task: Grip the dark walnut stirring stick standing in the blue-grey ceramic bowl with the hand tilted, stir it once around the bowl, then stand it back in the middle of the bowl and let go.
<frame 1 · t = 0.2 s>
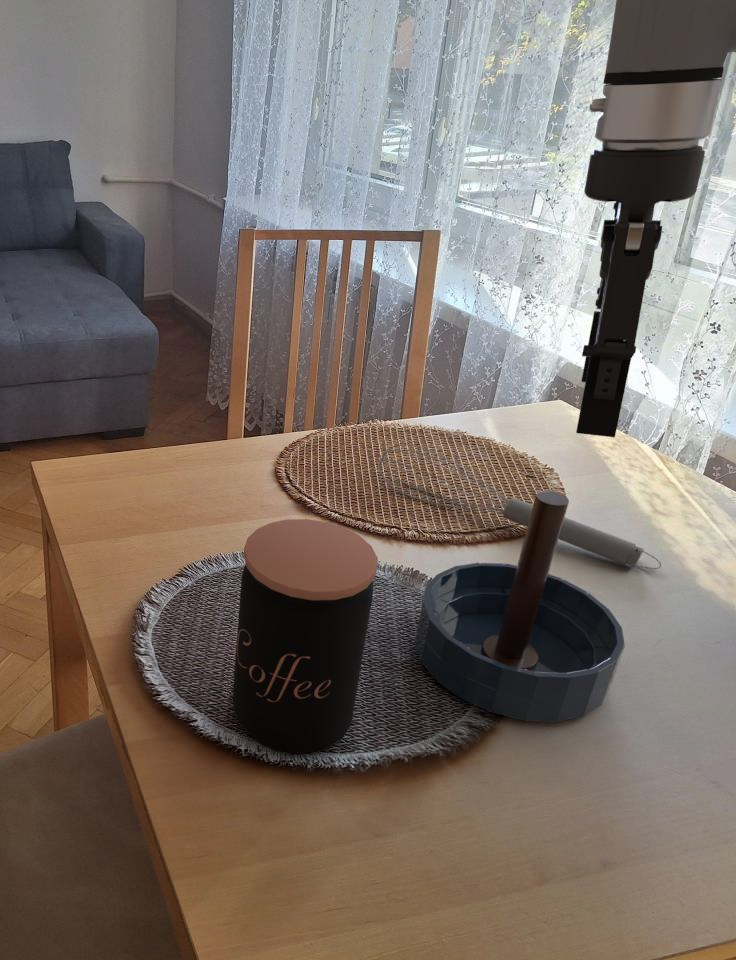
hand: (596, 406, 74), 26 cm above the table, tool pointing down, fingers open, 13 cm apart
stirring stick: (508, 657, 84), point 1 cm above the table, touching bowl
coffee jar: (290, 717, 79), on the table
bowl: (506, 663, 84), on the table
kitchen whisk: (500, 522, 107), on the table
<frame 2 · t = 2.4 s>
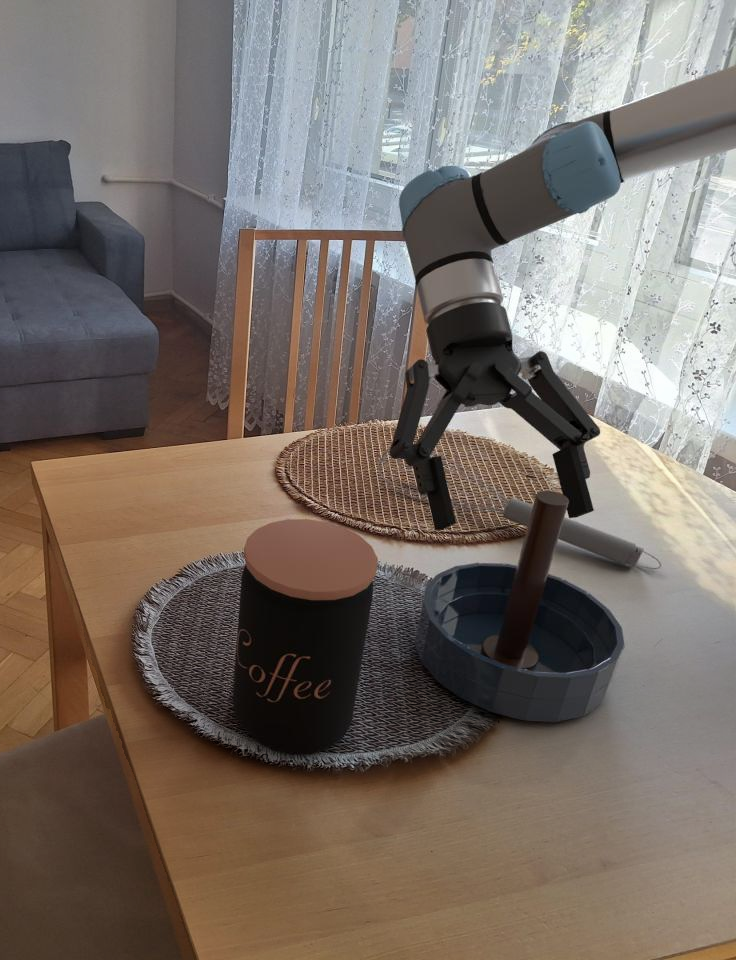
hand: (514, 521, 81), 14 cm above the table, tool tilted 45°, fingers open, 13 cm apart
nothing on the table moved.
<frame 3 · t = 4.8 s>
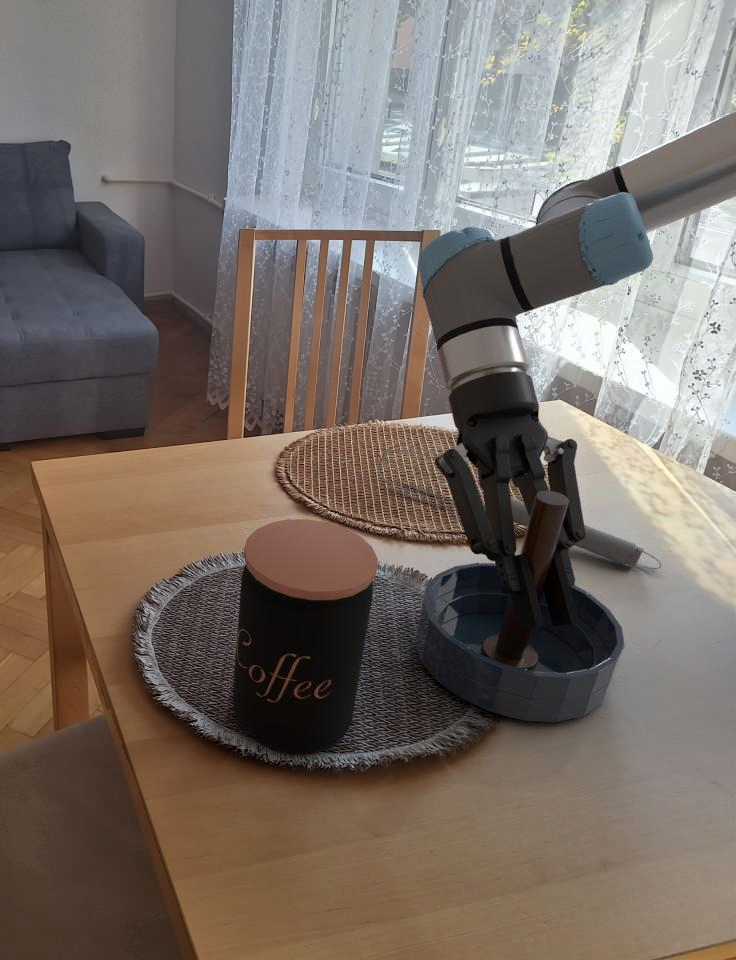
hand: (548, 625, 77), 8 cm above the table, tool tilted 45°, fingers closed on stirring stick, 3 cm apart
stirring stick: (508, 656, 84), point 1 cm above the table, touching bowl, gripper
everything else where it was.
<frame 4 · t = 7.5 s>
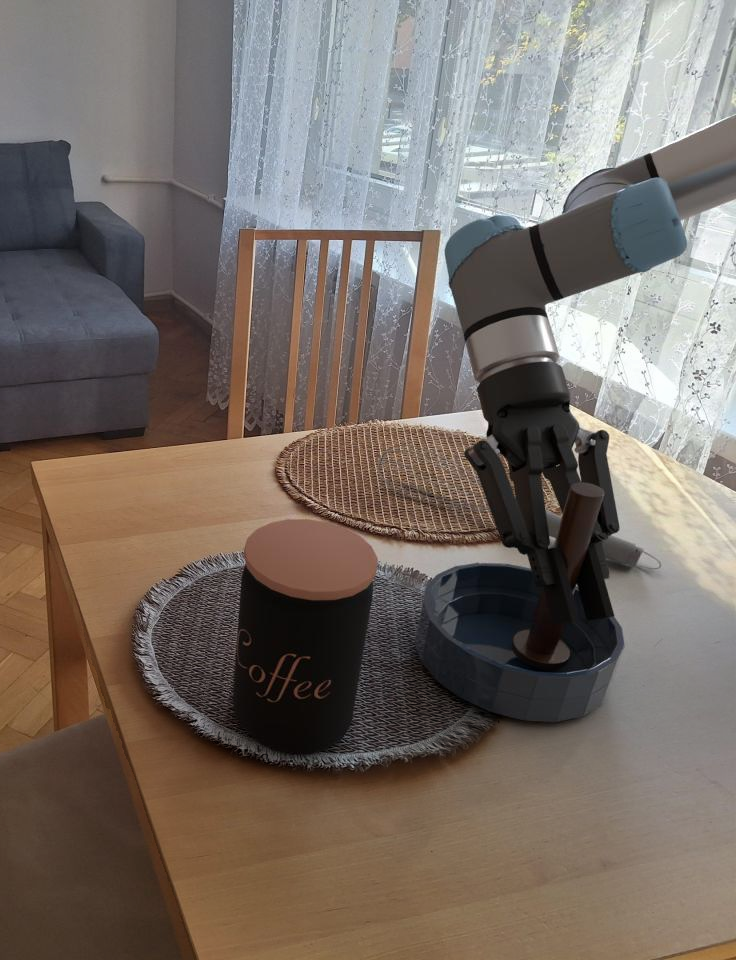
hand: (583, 620, 75), 9 cm above the table, tool tilted 45°, fingers closed on stirring stick, 3 cm apart
stirring stick: (539, 652, 82), point 2 cm above the table, touching gripper
everything else where it was.
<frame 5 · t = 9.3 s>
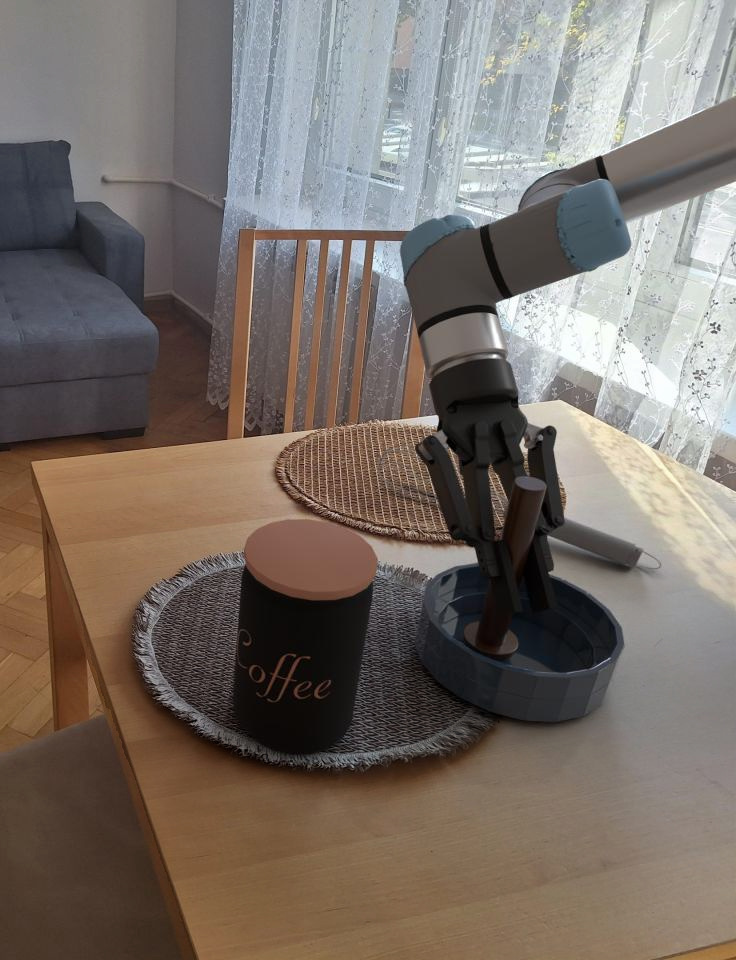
hand: (527, 611, 77), 9 cm above the table, tool tilted 45°, fingers closed on stirring stick, 3 cm apart
stirring stick: (489, 643, 84), point 2 cm above the table, touching gripper
everything else where it was.
when the fingers open (8 cm above the table, at t = 10.3 s): stirring stick stays where it is, resting on bowl.
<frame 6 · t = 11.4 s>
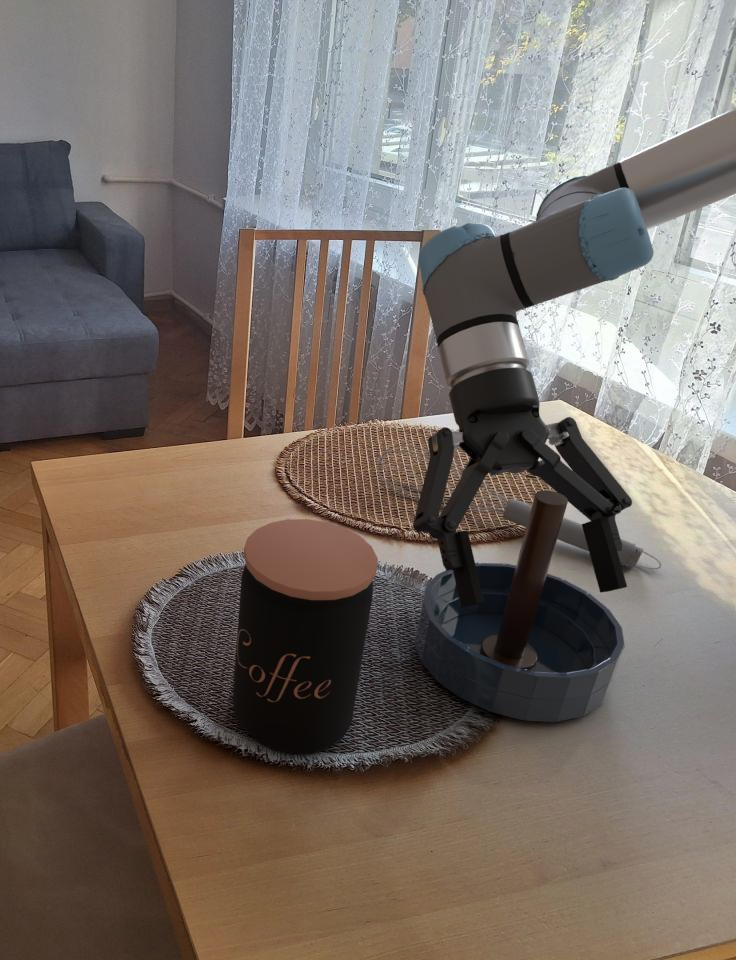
hand: (543, 597, 77), 10 cm above the table, tool tilted 45°, fingers open, 13 cm apart
stirring stick: (507, 656, 84), point 1 cm above the table, touching bowl
everything else where it was.
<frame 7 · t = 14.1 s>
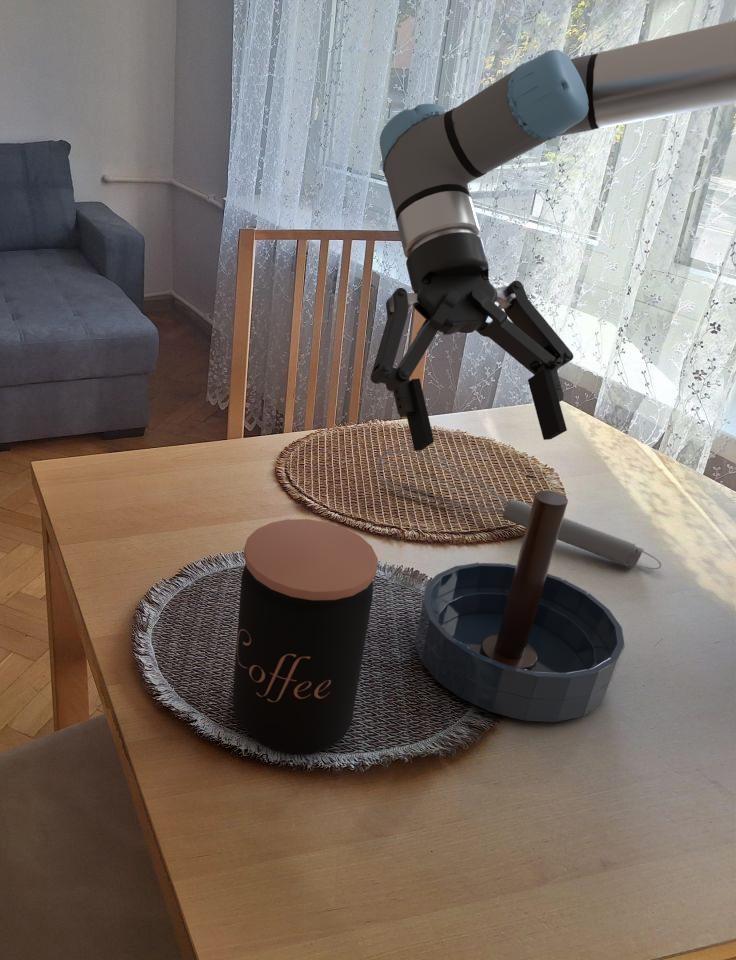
hand: (490, 441, 84), 19 cm above the table, tool tilted 45°, fingers open, 13 cm apart
nothing on the table moved.
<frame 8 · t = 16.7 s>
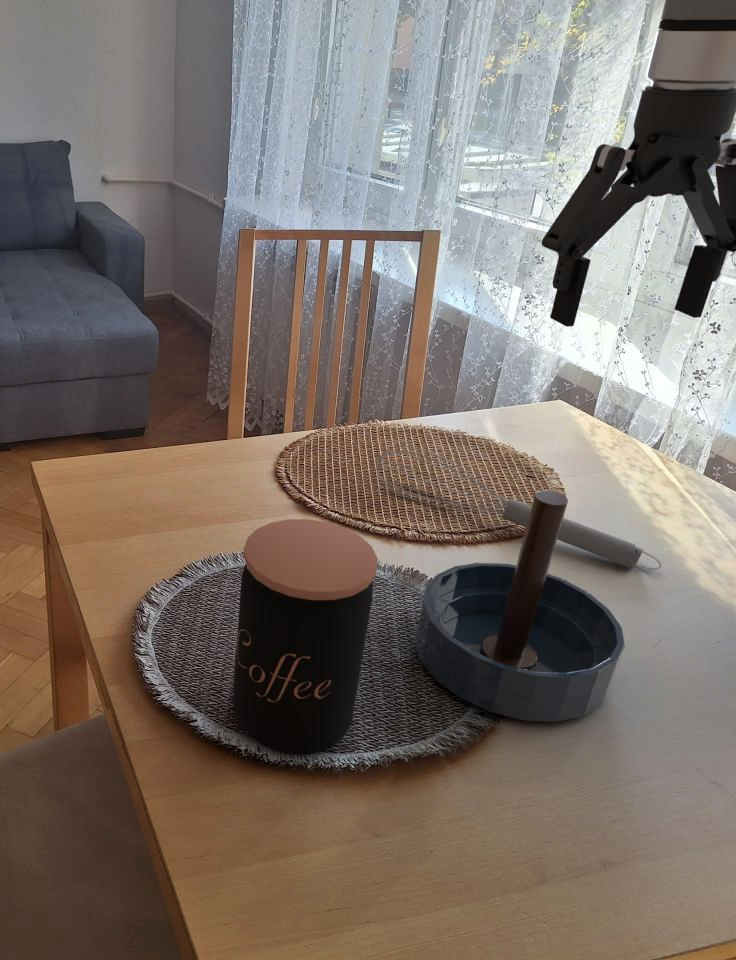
hand: (624, 318, 86), 29 cm above the table, tool pointing down, fingers open, 13 cm apart
nothing on the table moved.
at the end: stirring stick inside the target area in the bowl (0.1 cm from its centre), point 0.8 cm above the bowl's base; stirring stick tilted 0°; the gripper is holding nothing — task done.
